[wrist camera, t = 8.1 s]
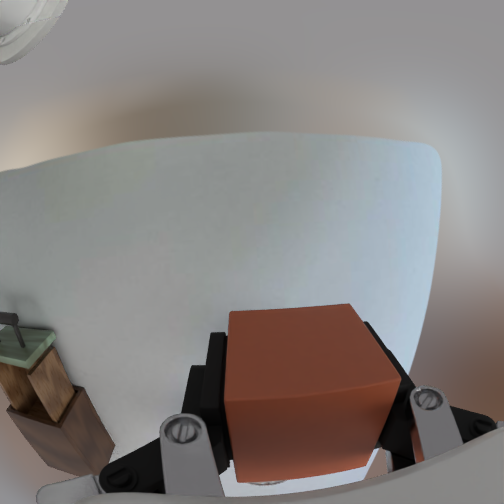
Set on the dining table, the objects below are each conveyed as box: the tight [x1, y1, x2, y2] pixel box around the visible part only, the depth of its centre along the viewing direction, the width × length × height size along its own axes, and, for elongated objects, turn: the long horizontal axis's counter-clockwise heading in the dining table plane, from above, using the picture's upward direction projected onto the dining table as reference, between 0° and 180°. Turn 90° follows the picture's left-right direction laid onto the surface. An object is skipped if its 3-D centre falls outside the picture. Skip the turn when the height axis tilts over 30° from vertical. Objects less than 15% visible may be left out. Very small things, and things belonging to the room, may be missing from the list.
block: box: [224, 304, 401, 483], centre depth 9 cm, size 4×4×4 cm
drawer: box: [0, 312, 76, 424], centre depth 30 cm, size 20×11×8 cm, turn 3°
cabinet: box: [6, 386, 115, 477], centre depth 35 cm, size 16×13×10 cm
